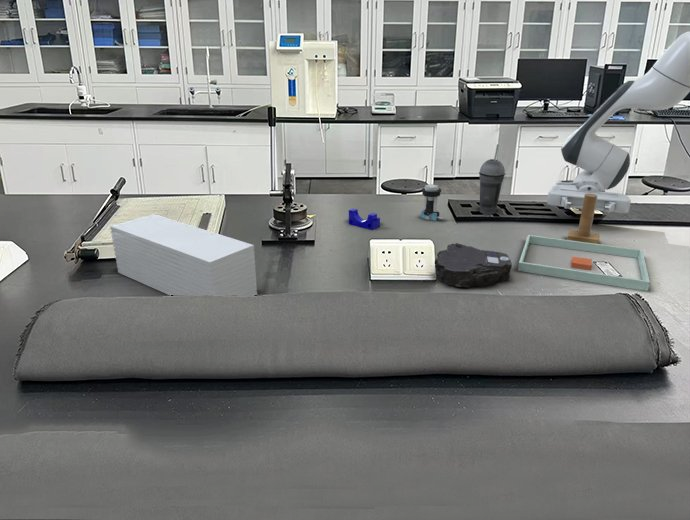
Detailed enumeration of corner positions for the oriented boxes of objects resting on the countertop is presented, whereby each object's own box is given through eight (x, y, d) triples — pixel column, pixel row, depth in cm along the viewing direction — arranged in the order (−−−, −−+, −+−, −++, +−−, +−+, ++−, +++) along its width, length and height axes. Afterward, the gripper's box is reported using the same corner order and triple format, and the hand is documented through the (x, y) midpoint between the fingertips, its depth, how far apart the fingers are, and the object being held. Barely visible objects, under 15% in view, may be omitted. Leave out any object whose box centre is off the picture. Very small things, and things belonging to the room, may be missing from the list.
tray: (639, 260, 123) (642, 249, 122) (647, 293, 107) (650, 282, 106) (526, 244, 132) (527, 234, 131) (517, 273, 116) (518, 262, 115)
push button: (446, 221, 149) (449, 186, 145) (437, 225, 145) (440, 190, 141) (425, 216, 153) (428, 182, 149) (416, 221, 149) (418, 186, 145)
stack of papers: (118, 272, 116) (110, 225, 111) (160, 258, 123) (154, 213, 119) (215, 315, 98) (209, 262, 94) (257, 295, 106) (253, 244, 101)
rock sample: (465, 299, 104) (467, 276, 102) (414, 271, 116) (415, 250, 115) (525, 279, 113) (528, 258, 111) (472, 255, 125) (474, 236, 123)
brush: (596, 244, 132) (607, 194, 127) (597, 251, 128) (607, 199, 123) (566, 240, 135) (575, 190, 130) (566, 247, 130) (574, 196, 125)
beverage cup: (491, 207, 161) (499, 140, 153) (505, 214, 155) (514, 145, 147) (470, 209, 159) (477, 142, 151) (483, 216, 153) (491, 146, 145)
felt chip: (590, 263, 119) (591, 259, 119) (590, 270, 116) (591, 265, 115) (571, 261, 121) (572, 256, 120) (570, 267, 117) (571, 262, 117)
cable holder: (379, 226, 144) (380, 212, 143) (372, 230, 142) (372, 215, 140) (356, 220, 149) (356, 207, 147) (348, 224, 146) (348, 210, 145)
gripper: (626, 209, 145) (629, 224, 134) (548, 201, 153) (544, 214, 141) (631, 187, 143) (635, 200, 131) (551, 180, 150) (547, 191, 139)
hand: (587, 208), depth 136 cm, fingers open, 8 cm apart
